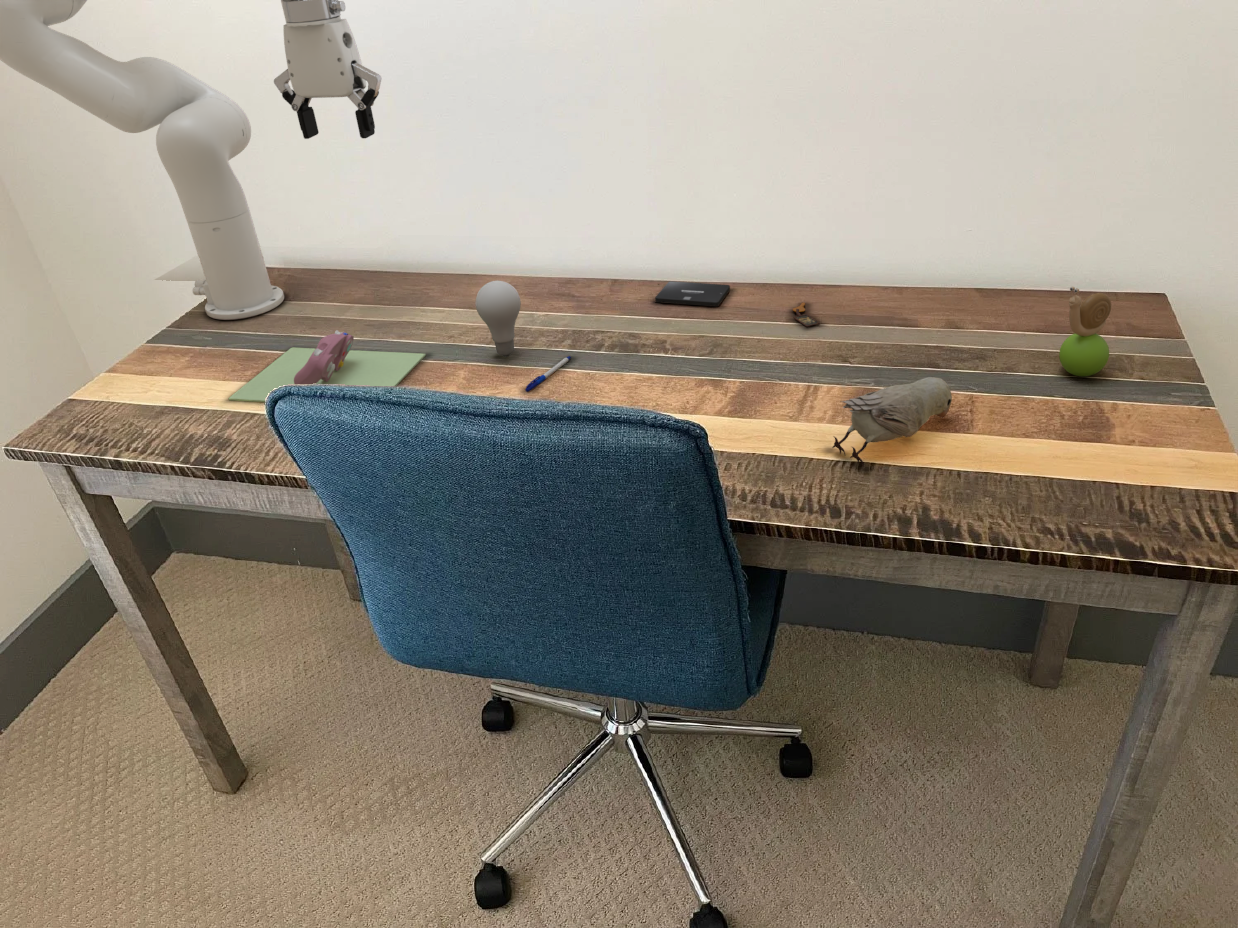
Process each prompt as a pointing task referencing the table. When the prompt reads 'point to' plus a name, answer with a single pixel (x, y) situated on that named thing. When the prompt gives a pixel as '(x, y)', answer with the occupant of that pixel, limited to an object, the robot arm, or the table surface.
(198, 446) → the table surface
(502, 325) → the lightbulb
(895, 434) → the decorative bird
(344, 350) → the video game controller
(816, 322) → the key tag
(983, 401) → the table surface
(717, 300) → the solid state drive
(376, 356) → the desk mat
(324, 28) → the robot arm
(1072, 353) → the snail figurine
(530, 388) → the ballpoint pen
